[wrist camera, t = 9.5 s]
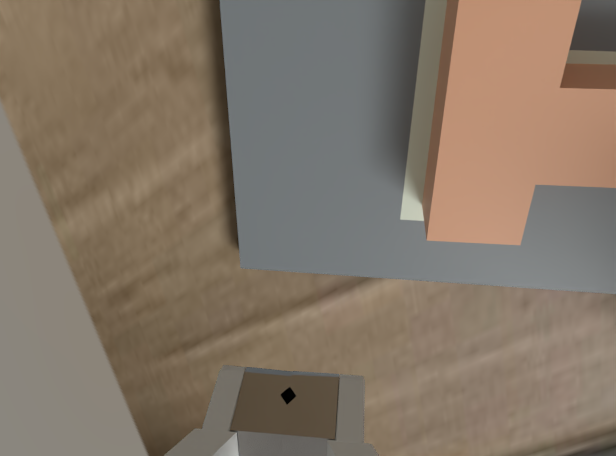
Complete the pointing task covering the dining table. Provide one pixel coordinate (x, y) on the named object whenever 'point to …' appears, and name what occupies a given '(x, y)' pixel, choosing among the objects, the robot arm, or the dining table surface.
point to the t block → (512, 118)
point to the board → (381, 149)
